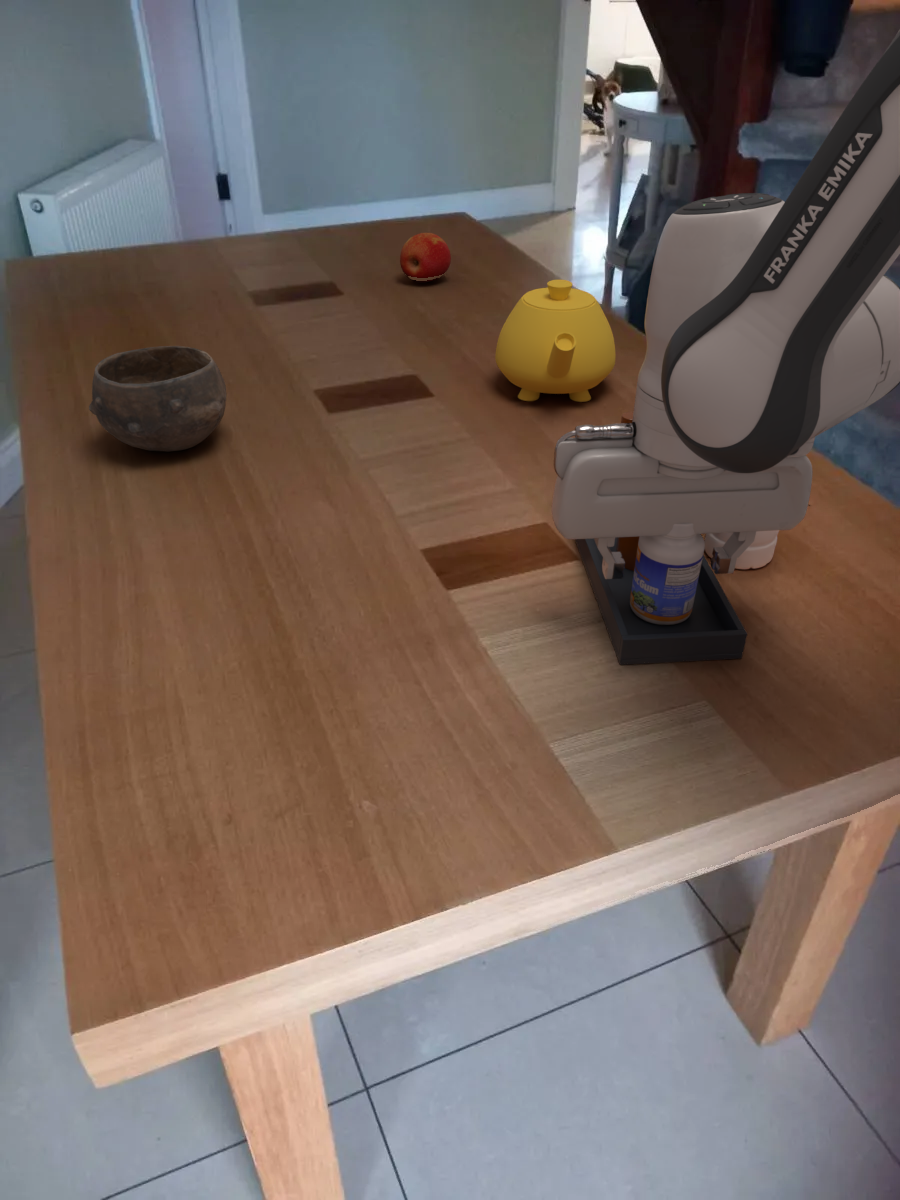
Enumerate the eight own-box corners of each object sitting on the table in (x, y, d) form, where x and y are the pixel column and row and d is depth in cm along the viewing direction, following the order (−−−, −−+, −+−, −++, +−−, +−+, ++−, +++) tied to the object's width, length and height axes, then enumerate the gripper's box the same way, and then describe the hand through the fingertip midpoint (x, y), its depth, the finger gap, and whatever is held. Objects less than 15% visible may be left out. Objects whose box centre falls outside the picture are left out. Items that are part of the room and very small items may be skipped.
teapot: (622, 427, 112) (635, 314, 104) (494, 425, 112) (497, 313, 104) (606, 365, 128) (616, 264, 120) (494, 364, 129) (497, 263, 121)
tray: (561, 501, 97) (562, 479, 95) (656, 497, 98) (659, 475, 96) (619, 665, 75) (623, 640, 73) (742, 658, 75) (747, 633, 74)
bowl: (240, 460, 105) (228, 376, 99) (99, 480, 101) (77, 394, 95) (226, 412, 116) (214, 334, 110) (98, 428, 112) (78, 348, 106)
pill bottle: (618, 597, 82) (630, 501, 76) (673, 586, 83) (689, 491, 77) (647, 632, 77) (662, 533, 72) (704, 621, 79) (723, 522, 73)
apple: (457, 281, 161) (457, 233, 156) (424, 292, 156) (424, 243, 151) (424, 272, 165) (423, 225, 160) (391, 282, 160) (389, 234, 155)
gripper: (563, 444, 67) (552, 599, 75) (837, 434, 68) (796, 588, 76) (549, 409, 72) (539, 558, 80) (803, 400, 73) (769, 547, 81)
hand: (667, 572), depth 78 cm, fingers open, 8 cm apart
